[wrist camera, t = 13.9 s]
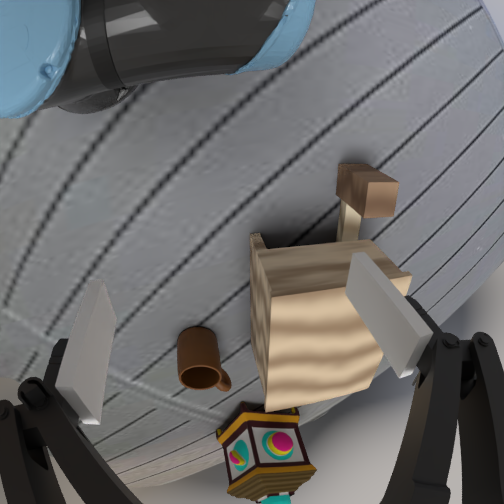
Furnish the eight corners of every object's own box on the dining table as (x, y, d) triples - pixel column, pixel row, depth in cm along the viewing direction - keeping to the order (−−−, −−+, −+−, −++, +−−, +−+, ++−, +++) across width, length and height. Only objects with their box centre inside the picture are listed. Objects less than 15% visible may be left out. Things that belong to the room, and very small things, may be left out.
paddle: (338, 163, 44) (368, 182, 36) (366, 164, 44) (399, 182, 37) (321, 304, 57) (339, 337, 50) (344, 300, 58) (364, 331, 51)
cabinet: (246, 231, 47) (271, 297, 33) (362, 222, 50) (416, 274, 36) (248, 345, 59) (265, 412, 46) (339, 329, 62) (371, 387, 49)
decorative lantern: (268, 435, 84) (290, 518, 58) (209, 431, 76) (224, 525, 51) (303, 403, 76) (337, 497, 51) (238, 396, 69) (263, 510, 43)
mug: (239, 349, 60) (247, 386, 52) (211, 366, 61) (216, 403, 53) (197, 318, 54) (200, 358, 46) (168, 339, 55) (168, 378, 47)
